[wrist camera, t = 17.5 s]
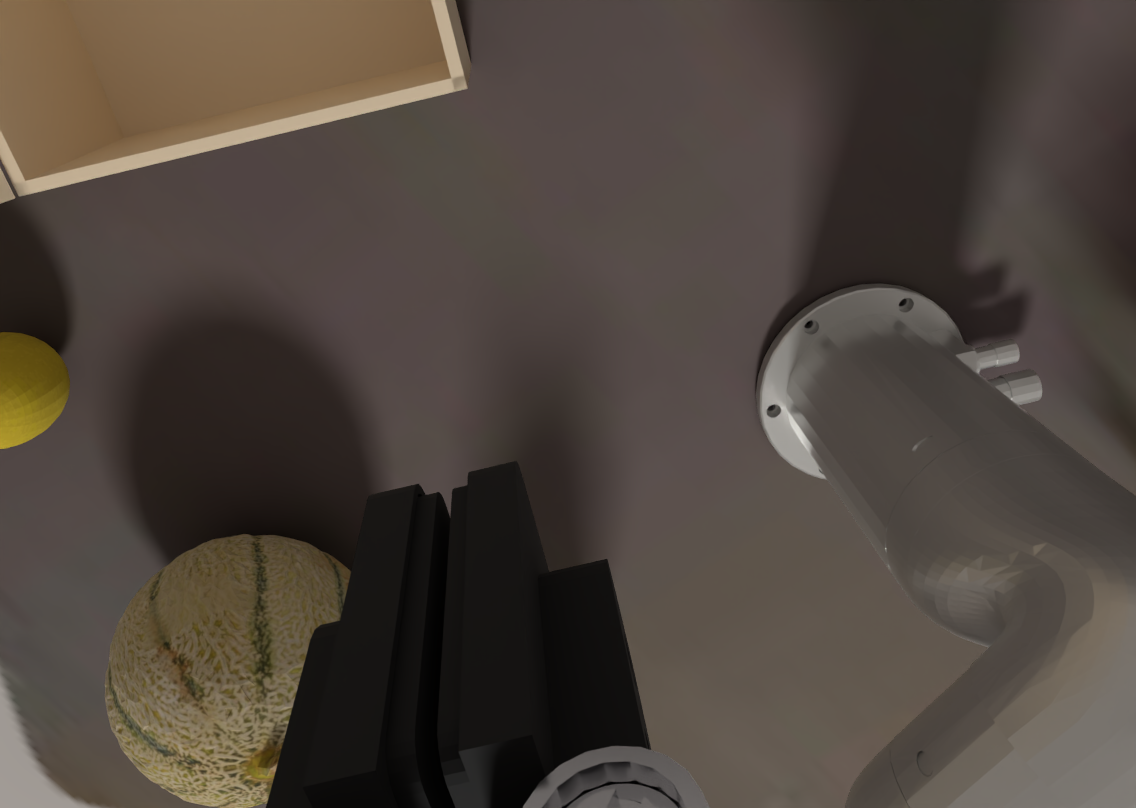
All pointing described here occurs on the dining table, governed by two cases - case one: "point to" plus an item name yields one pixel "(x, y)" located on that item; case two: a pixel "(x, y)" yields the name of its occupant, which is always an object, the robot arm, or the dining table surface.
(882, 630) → the dining table surface
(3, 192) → the carton lid
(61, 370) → the lemon
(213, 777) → the cantaloupe
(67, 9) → the carton
